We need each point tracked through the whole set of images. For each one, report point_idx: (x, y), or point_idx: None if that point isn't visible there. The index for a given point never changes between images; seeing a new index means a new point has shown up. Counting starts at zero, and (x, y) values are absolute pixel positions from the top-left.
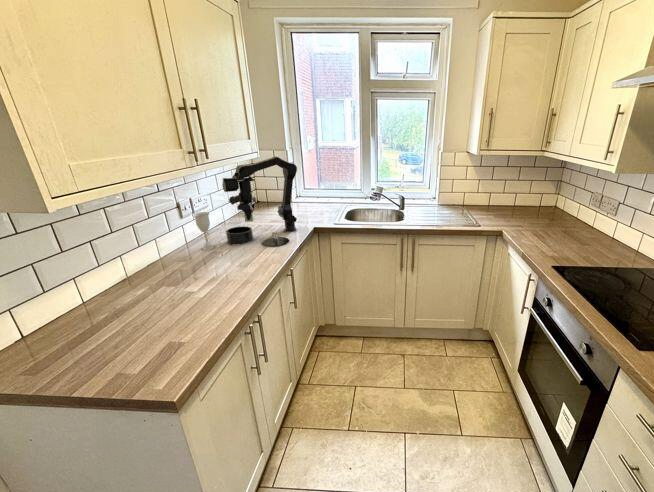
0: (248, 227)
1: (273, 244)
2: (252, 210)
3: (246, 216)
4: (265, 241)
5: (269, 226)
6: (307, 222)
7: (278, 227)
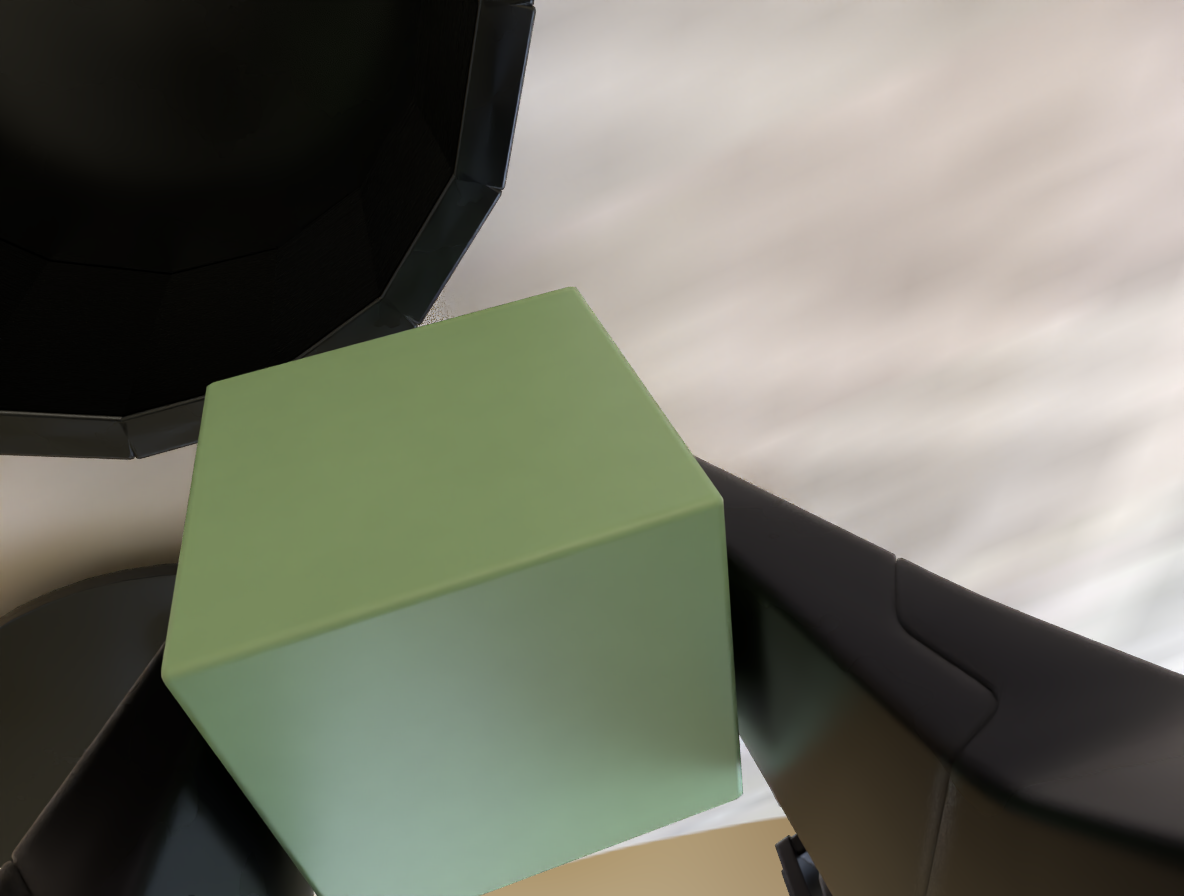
0: (415, 247)
1: (15, 800)
2: (826, 862)
3: (118, 735)
4: (131, 625)
5: (1141, 239)
6: None
7: (1027, 420)
